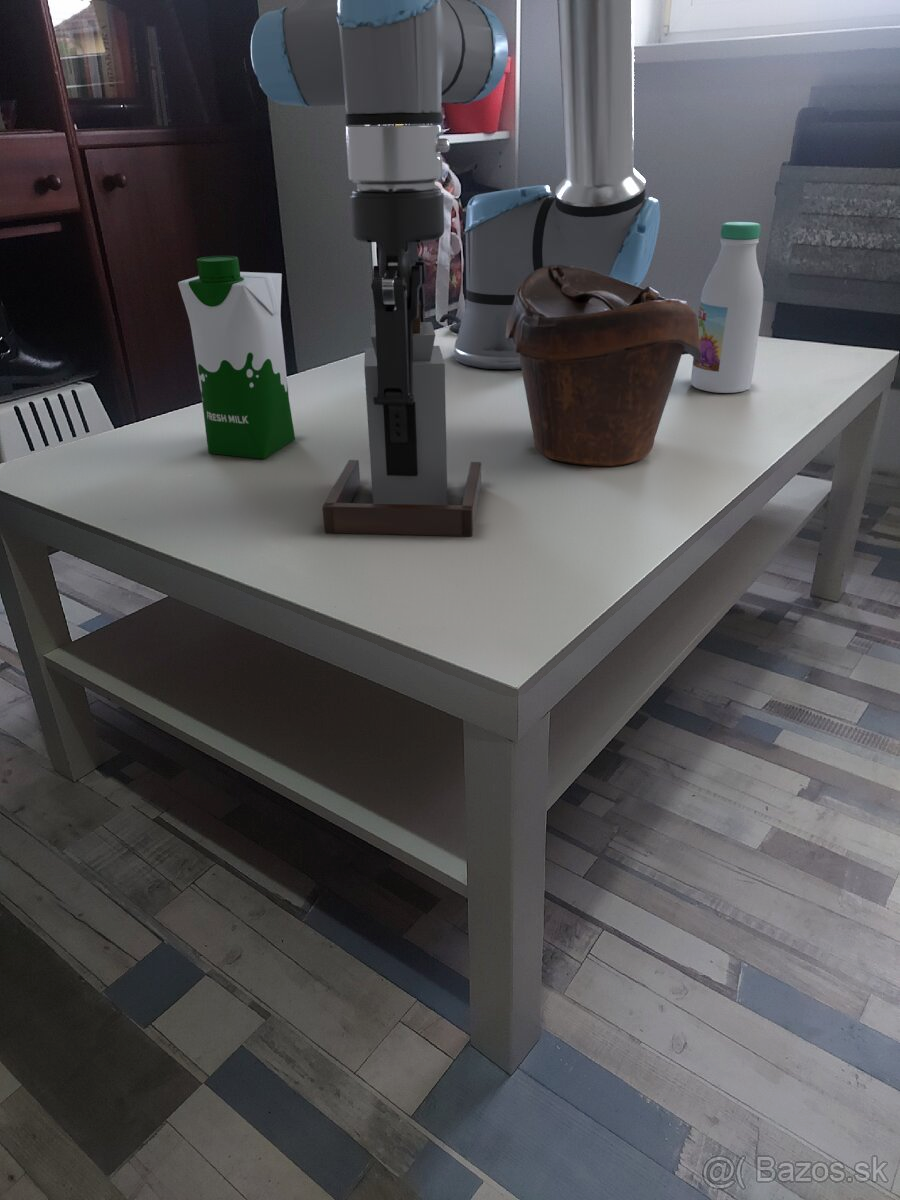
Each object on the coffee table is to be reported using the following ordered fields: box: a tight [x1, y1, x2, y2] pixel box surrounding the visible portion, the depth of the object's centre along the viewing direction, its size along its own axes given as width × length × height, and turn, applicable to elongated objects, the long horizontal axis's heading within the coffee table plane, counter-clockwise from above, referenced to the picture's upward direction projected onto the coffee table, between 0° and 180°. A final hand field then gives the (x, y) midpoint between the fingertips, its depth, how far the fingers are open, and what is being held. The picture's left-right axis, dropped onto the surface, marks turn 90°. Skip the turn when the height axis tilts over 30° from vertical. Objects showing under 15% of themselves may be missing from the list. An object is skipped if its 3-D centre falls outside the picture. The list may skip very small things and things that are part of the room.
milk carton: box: [177, 255, 296, 460], centre depth 94 cm, size 9×9×20 cm
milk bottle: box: [690, 221, 764, 394], centre depth 113 cm, size 8×8×20 cm
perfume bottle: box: [363, 299, 449, 505], centre depth 80 cm, size 7×7×18 cm
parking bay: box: [321, 459, 482, 537], centre depth 82 cm, size 12×13×2 cm
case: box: [506, 265, 701, 467], centre depth 92 cm, size 18×20×18 cm
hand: (407, 460), depth 82 cm, fingers closed on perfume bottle, 6 cm apart
